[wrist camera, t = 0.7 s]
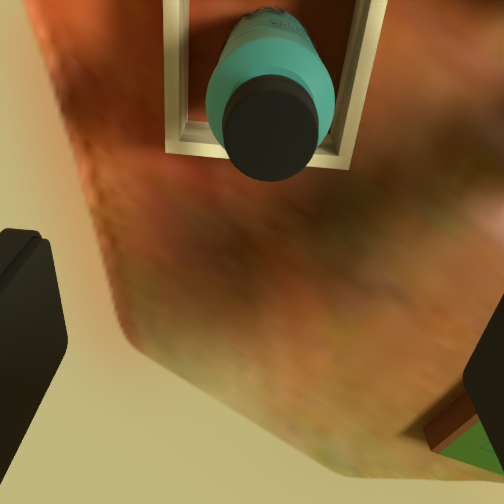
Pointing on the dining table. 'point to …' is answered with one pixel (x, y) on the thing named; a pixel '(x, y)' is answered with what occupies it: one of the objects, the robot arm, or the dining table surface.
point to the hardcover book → (462, 436)
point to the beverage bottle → (270, 96)
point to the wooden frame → (347, 104)
